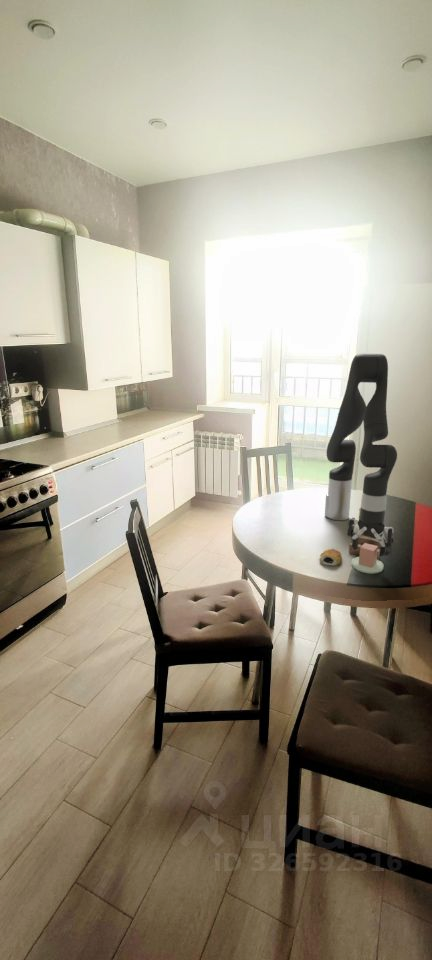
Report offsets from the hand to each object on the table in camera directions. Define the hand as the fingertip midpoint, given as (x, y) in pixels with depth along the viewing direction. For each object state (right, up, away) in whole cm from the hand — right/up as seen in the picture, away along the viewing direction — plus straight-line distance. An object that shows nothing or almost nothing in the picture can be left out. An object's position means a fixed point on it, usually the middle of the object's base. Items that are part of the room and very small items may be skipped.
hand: (368, 552), depth 145 cm
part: (0, -4, +1) cm, 4 cm away
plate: (0, -5, +1) cm, 5 cm away
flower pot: (+9, +2, +25) cm, 26 cm away
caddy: (+4, -1, +12) cm, 12 cm away
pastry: (-11, -4, +6) cm, 13 cm away
